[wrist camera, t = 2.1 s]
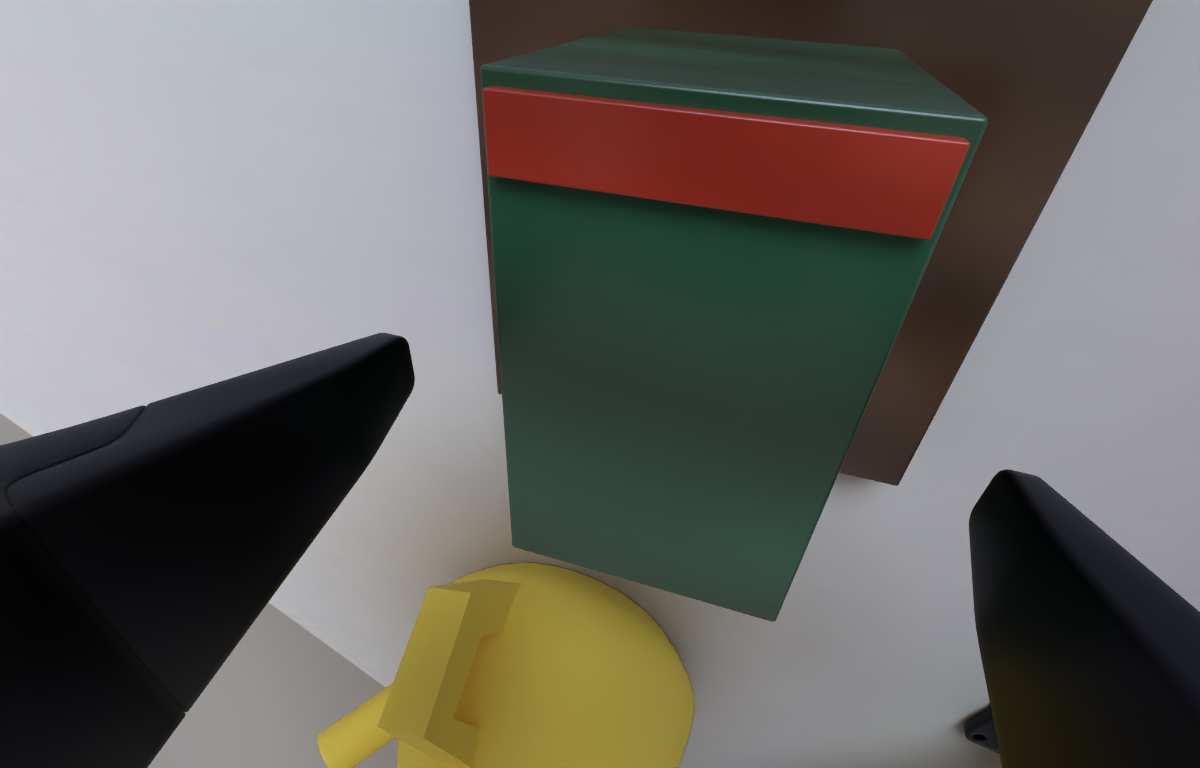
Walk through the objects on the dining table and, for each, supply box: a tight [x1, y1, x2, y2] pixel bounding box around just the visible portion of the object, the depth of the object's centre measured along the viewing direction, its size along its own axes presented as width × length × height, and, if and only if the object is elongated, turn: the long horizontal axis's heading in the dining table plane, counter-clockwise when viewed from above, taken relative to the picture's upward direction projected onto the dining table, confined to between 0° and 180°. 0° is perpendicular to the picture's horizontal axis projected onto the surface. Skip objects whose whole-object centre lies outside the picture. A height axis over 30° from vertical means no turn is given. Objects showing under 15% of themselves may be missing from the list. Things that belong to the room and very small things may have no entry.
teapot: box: [317, 563, 695, 768], centre depth 27 cm, size 20×18×11 cm
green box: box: [480, 27, 988, 622], centre depth 11 cm, size 9×6×7 cm, turn 178°
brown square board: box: [469, 0, 1153, 485], centre depth 15 cm, size 13×13×2 cm
